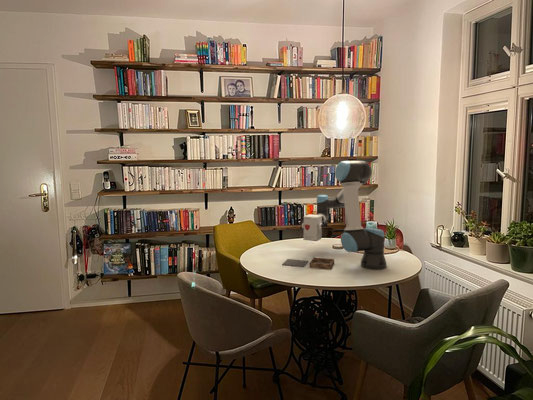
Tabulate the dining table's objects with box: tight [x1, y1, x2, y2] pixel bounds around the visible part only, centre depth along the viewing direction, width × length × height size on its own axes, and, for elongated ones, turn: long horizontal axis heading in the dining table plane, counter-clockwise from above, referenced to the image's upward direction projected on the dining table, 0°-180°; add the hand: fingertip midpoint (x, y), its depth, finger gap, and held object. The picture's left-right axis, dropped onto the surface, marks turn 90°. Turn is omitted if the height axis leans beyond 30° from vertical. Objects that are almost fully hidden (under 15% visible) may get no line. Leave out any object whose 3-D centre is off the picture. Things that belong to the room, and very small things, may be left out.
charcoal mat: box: [281, 258, 310, 268], centre depth 237 cm, size 14×13×1 cm
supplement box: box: [303, 213, 323, 242], centre depth 232 cm, size 9×9×15 cm
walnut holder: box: [309, 256, 335, 270], centre depth 231 cm, size 13×13×3 cm
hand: (310, 226), depth 228 cm, fingers closed on supplement box, 10 cm apart
